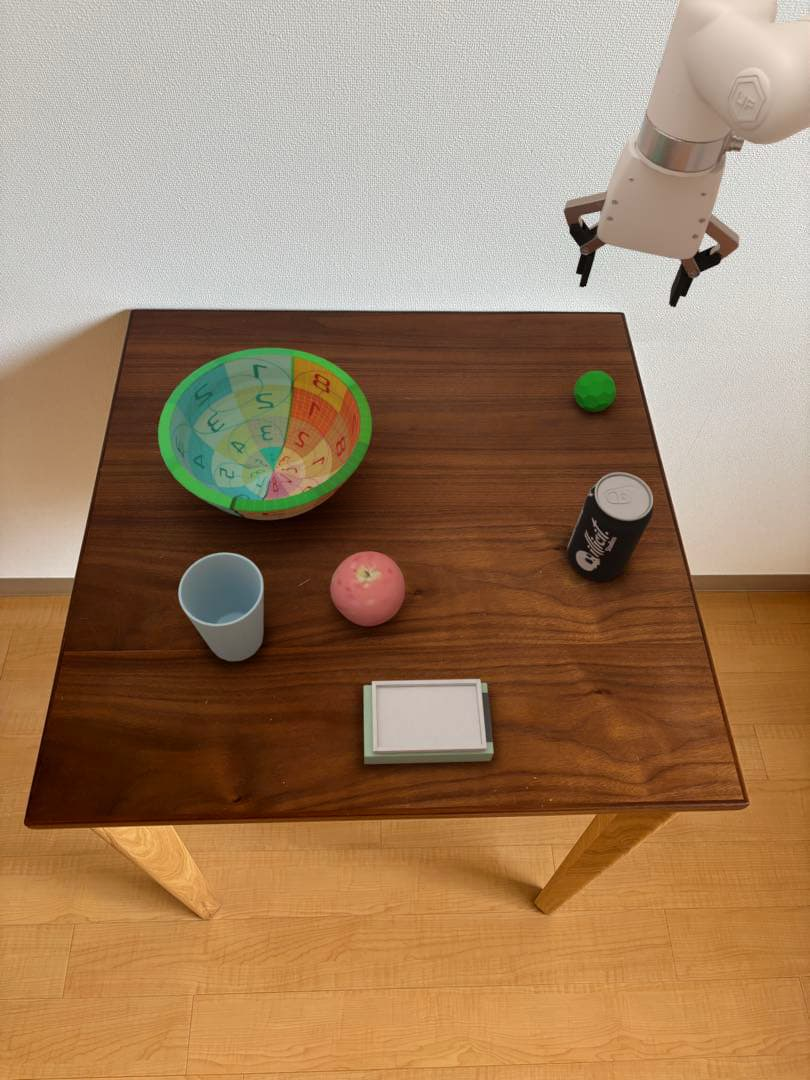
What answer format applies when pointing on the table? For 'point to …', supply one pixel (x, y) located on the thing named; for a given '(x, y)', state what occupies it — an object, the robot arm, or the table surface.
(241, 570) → the cup
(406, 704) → the scale
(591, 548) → the beverage can
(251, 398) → the bowl
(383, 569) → the apple
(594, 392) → the polyhedron
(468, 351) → the table surface
